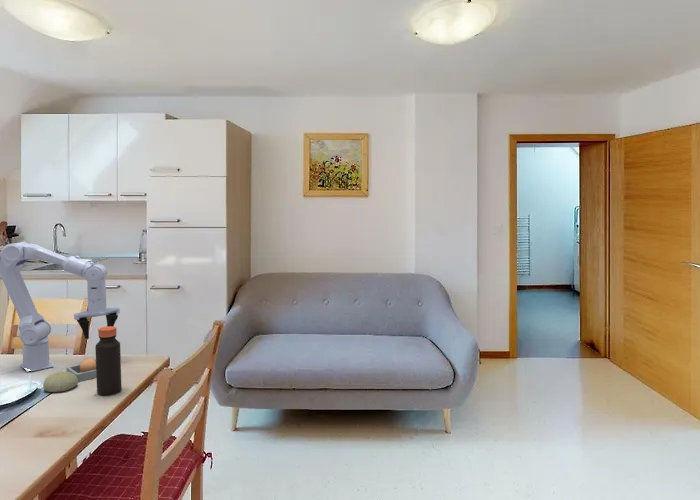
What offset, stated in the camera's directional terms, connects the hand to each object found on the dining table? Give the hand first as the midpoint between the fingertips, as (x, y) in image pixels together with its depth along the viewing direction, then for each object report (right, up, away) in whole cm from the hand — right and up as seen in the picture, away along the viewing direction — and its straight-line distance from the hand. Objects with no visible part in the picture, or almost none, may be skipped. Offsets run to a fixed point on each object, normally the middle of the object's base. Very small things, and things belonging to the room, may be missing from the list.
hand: (98, 336), depth 167 cm
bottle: (+15, -13, -22) cm, 30 cm away
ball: (+1, -11, -8) cm, 14 cm away
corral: (+1, -11, -8) cm, 14 cm away
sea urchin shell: (-1, -13, -20) cm, 24 cm away
